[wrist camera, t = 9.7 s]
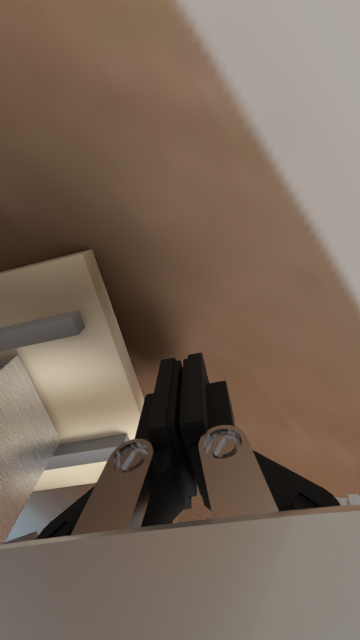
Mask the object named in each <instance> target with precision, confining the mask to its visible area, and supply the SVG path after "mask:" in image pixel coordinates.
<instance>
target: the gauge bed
mask: <svg viewBox="0 0 360 640" xmlns="http://www.w3.org/2000/svg"><path fill="white" fill-rule="evenodd" d="M14 355H19V357H20V359H21V361H22V363H23V365H24V367H25V369H26V371H27V373H28V375H29V377H30V379H31V381H32V383H33V385H34V387H35V389H36V391H37V393H38V395H39V397H40V399H41V401H42V403H43V405H44V407H45V409H46V411H47V413H48V415H49V417H50V419H51V421H52V423H53V425H54V427H55V429H56V431H57V433H58V435H59V437H60V439H61V441H60V443H59V445H58V447H57V448H56V450H55V452H54V454H53V455H52V457H51V459H50V461H49V463H48V464H47V466H46V468H45V470H44V472H43V473H42V475H41V477H40V479H39V481H38V482H37V484H36V486H35V488H34V489H33V491H39V490H47V489H54V488H61V487H68V486H75V485H82V484H89V483H96V482H97V481H98V479H99V477H100V475H101V473H102V471H103V469H104V467H105V465H106V463H107V461H108V459H109V457H110V455H111V454H112V452H113V451H114V450H115V449H116V448H117V447H118V446H120V445H121V444H123V443H124V442H127V441H129V440H132V439H135V435H136V431H137V427H138V423H139V419H140V416H141V412H142V408H143V404H144V397H143V394H142V391H141V388H140V386H139V383H138V380H137V377H136V374H135V371H134V368H133V365H132V363H131V360H130V357H129V354H128V351H127V348H126V345H125V342H124V340H123V337H122V334H121V331H120V328H119V325H118V322H117V319H116V317H115V314H114V311H113V308H112V305H111V302H110V299H109V296H108V293H107V291H106V288H105V285H104V282H103V279H102V276H101V273H100V270H99V268H98V265H97V262H96V259H95V256H94V253H93V250H92V249H90V250H86V251H82V252H78V253H74V254H70V255H66V256H62V257H58V258H54V259H50V260H46V261H42V262H38V263H34V264H31V265H27V266H23V267H19V268H15V269H11V270H7V271H3V272H0V358H5V357H10V356H14Z"/></svg>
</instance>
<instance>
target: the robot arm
mask: <svg viewBox="0 0 360 640" xmlns="http://www.w3.org/2000/svg"><path fill="white" fill-rule="evenodd" d="M197 485H198V488H199V492H200V495H202V499H203V502H204V505H205V506H206V507H207V508H208V509H210V510H211V511H212V515H213V519H207V520H198V521H189V522H180V523H179V520H178V514H179V513H180V512H181V511H182V510H183V509H189V508H191V497H193V496H196V495H197ZM347 497H348V499H347V498H337V497H334V496H333V495H332V494H331V493H329V492H328V491H327V490H325V489H324V488H322V487H320V486H318V485H316V484H315V483H313V482H311V481H309V480H307V479H305V478H303V477H302V476H300V475H298V474H296V473H294V472H292V471H290V470H289V469H287V468H285V467H283V466H281V465H279V464H277V463H276V462H274V461H272V460H270V459H268V458H266V457H265V456H263V455H261V454H259V453H257V452H255V451H253V450H252V448H251V446H250V444H249V441H248V439H247V437H246V435H245V434H244V432H243V431H242V430H240V429H239V428H237V427H235V423H234V417H233V412H232V407H231V402H230V397H229V393H228V388H227V384H226V381H220V382H215V383H209V380H208V376H207V372H206V368H205V364H204V360H203V356H202V353H196V354H191V355H188V359H184V361H183V367H182V364H181V361H180V360H178V361H176V360H175V358H170V359H165V360H161V363H160V367H159V372H158V377H157V381H156V386H155V391H154V393H153V394H147V395H146V397H145V400H144V404H143V408H142V412H141V416H140V419H139V423H138V427H137V431H136V435H135V439H132V440H129V441H127V442H124V443H123V444H121V445H120V446H118V447H117V448H116V449H115V450H114V451H113V452H112V454H111V455H110V457H109V459H108V461H107V463H106V465H105V467H104V469H103V471H102V473H101V475H100V477H99V479H98V481H97V483H96V485H95V486H94V487H93V488H92V489H90V490H89V491H88V492H87V493H86V494H84V495H83V496H82V497H81V498H79V499H78V500H77V501H76V502H75V503H73V504H72V505H71V506H70V507H69V508H67V509H66V510H65V511H64V512H62V513H61V514H60V515H59V516H58V517H56V518H55V519H54V520H53V521H52V522H50V523H49V524H48V525H47V526H46V527H45V528H44V529H43V530H42V532H41V533H40V535H38V533H37V532H33V533H30V534H27V535H25V536H22V537H19V538H16V539H13V540H11V541H8V542H5V543H2V544H0V640H360V495H354V494H347Z"/></svg>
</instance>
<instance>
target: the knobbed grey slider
mask: <svg viewBox="0 0 360 640" xmlns="http://www.w3.org/2000/svg"><path fill="white" fill-rule="evenodd" d="M60 441H61V439H60V437H59V435H58V433H57V431H56V429H55V427H54V425H53V423H52V421H51V419H50V417H49V415H48V413H47V411H46V409H45V407H44V405H43V403H42V401H41V399H40V397H39V395H38V393H37V391H36V389H35V387H34V385H33V383H32V381H31V379H30V377H29V375H28V373H27V371H26V369H25V367H24V365H23V363H22V361H21V359H20V357H19V355H14V356H10V357H5V358H0V544H2V543H4V541H5V540H6V538H7V536H8V534H9V532H10V531H11V529H12V527H13V525H14V523H15V522H16V520H17V518H18V516H19V515H20V513H21V511H22V509H23V507H24V506H25V504H26V502H27V500H28V498H29V497H30V495H31V493H32V491H33V489H34V488H35V486H36V484H37V482H38V481H39V479H40V477H41V475H42V473H43V472H44V470H45V468H46V466H47V464H48V463H49V461H50V459H51V457H52V455H53V454H54V452H55V450H56V448H57V447H58V445H59V443H60Z"/></svg>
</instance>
